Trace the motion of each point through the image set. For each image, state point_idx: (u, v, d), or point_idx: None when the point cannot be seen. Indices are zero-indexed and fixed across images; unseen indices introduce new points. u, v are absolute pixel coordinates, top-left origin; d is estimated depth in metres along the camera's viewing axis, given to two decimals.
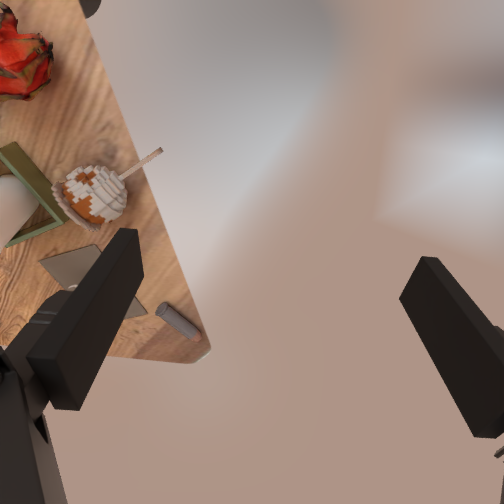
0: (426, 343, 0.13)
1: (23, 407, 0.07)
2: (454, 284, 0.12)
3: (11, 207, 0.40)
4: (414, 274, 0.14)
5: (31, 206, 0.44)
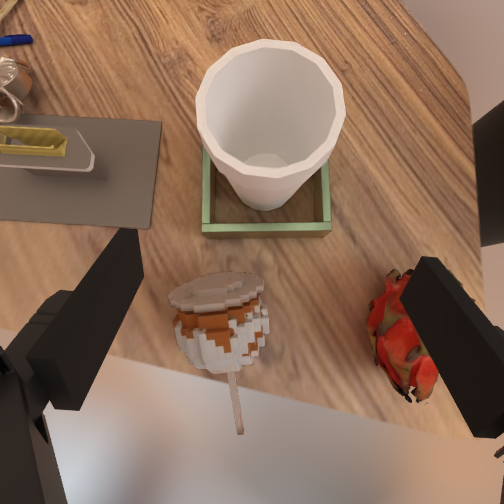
0: (426, 343, 0.13)
1: (23, 407, 0.07)
2: (454, 284, 0.12)
3: (260, 198, 0.25)
4: (414, 274, 0.14)
5: (244, 200, 0.29)
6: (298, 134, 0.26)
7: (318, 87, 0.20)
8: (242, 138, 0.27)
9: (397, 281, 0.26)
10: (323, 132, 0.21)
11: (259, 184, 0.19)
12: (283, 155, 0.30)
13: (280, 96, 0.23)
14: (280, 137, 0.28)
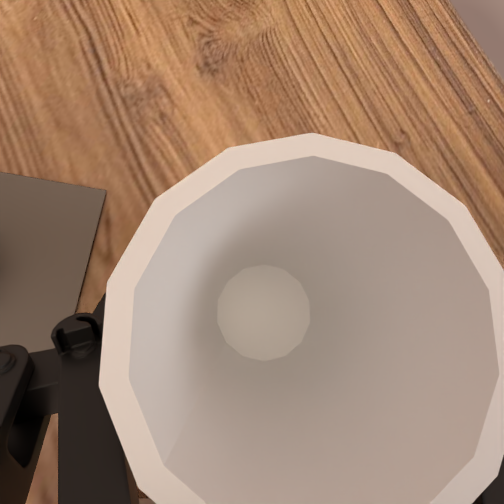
0: None
1: None
2: None
3: None
4: None
5: None
6: (339, 279, 0.14)
7: (431, 261, 0.08)
8: (234, 261, 0.15)
9: None
10: (421, 349, 0.09)
11: None
12: (298, 276, 0.18)
13: (320, 226, 0.11)
14: (300, 261, 0.16)
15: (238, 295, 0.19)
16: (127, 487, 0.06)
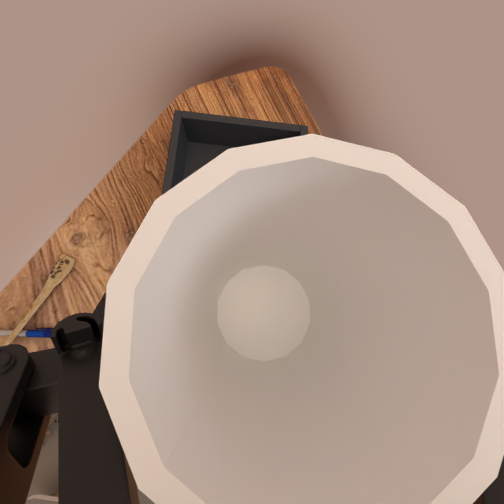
0: None
1: None
2: None
3: None
4: None
5: None
6: (339, 279, 0.14)
7: (431, 261, 0.08)
8: (234, 261, 0.15)
9: None
10: (421, 349, 0.09)
11: None
12: (298, 277, 0.18)
13: (320, 226, 0.11)
14: (300, 262, 0.16)
15: (238, 295, 0.19)
16: (127, 487, 0.06)
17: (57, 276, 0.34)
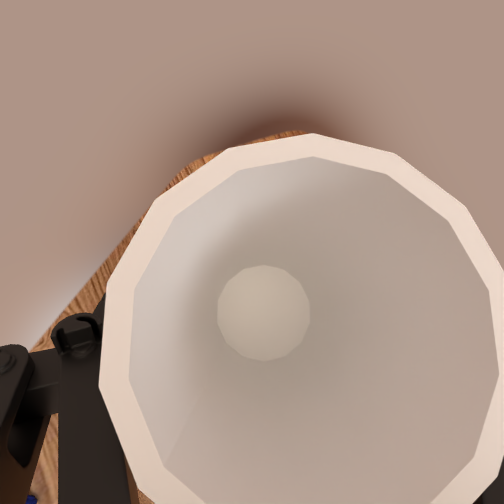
0: None
1: None
2: None
3: None
4: None
5: None
6: (339, 279, 0.14)
7: (431, 261, 0.08)
8: (234, 261, 0.15)
9: None
10: (421, 349, 0.09)
11: None
12: (298, 277, 0.18)
13: (320, 226, 0.11)
14: (300, 262, 0.16)
15: (238, 295, 0.19)
16: (127, 487, 0.06)
17: None
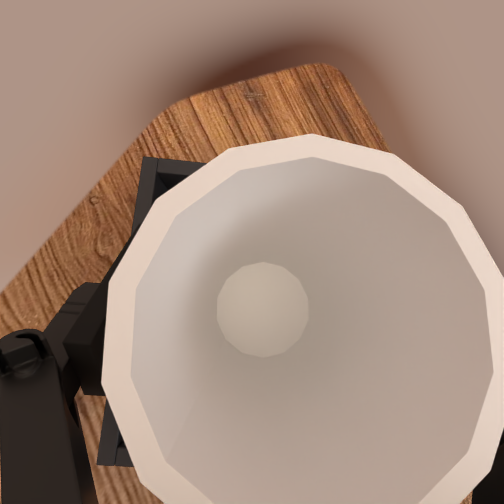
0: None
1: (60, 391, 0.07)
2: None
3: None
4: None
5: None
6: (337, 277, 0.14)
7: (429, 260, 0.08)
8: (233, 258, 0.15)
9: None
10: (417, 347, 0.09)
11: None
12: (297, 274, 0.19)
13: (319, 225, 0.11)
14: (299, 259, 0.16)
15: (237, 292, 0.19)
16: None
17: None
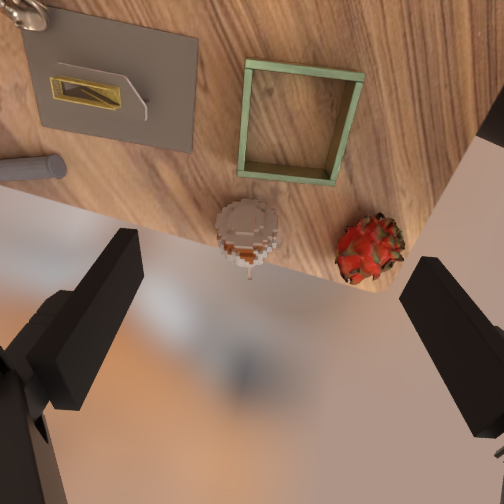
0: (426, 343, 0.13)
1: (23, 407, 0.07)
2: (454, 284, 0.12)
3: None
4: (414, 274, 0.14)
5: None
6: None
7: None
8: None
9: (365, 227, 0.39)
10: None
11: None
12: None
13: None
14: None
15: None
16: None
17: None
